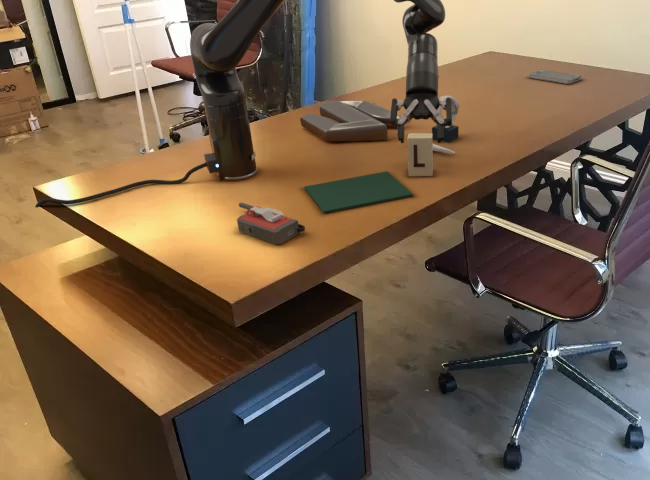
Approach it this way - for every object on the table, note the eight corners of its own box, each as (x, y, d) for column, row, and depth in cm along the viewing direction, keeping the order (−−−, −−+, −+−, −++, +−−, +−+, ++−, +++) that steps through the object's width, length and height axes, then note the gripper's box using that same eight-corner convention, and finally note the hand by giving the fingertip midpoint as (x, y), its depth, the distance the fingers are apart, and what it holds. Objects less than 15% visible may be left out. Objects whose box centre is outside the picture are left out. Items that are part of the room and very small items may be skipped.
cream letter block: (408, 176, 151) (407, 138, 146) (409, 170, 154) (408, 133, 149) (432, 176, 150) (431, 138, 146) (432, 170, 153) (432, 133, 149)
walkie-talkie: (313, 230, 128) (244, 208, 138) (311, 210, 126) (241, 188, 136) (281, 248, 122) (211, 223, 133) (278, 227, 120) (207, 203, 130)
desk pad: (323, 213, 135) (323, 211, 134) (304, 188, 147) (304, 186, 146) (412, 196, 141) (412, 193, 141) (387, 173, 153) (387, 171, 152)
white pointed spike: (406, 145, 168) (406, 138, 167) (413, 143, 170) (413, 136, 169) (452, 158, 160) (452, 150, 159) (459, 155, 161) (459, 147, 160)
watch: (462, 135, 174) (462, 94, 168) (446, 144, 169) (446, 101, 163) (444, 132, 177) (444, 91, 171) (428, 141, 172) (427, 98, 166)
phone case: (569, 84, 214) (569, 80, 214) (527, 77, 224) (528, 73, 223) (581, 79, 219) (582, 75, 219) (541, 72, 229) (541, 69, 228)
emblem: (419, 101, 185) (370, 129, 164) (419, 120, 187) (371, 150, 167) (335, 92, 196) (279, 117, 175) (337, 110, 199) (282, 137, 178)
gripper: (390, 69, 150) (388, 134, 147) (452, 68, 149) (451, 133, 146) (393, 87, 158) (391, 149, 154) (452, 86, 157) (451, 148, 153)
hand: (420, 141), depth 150 cm, fingers open, 8 cm apart
